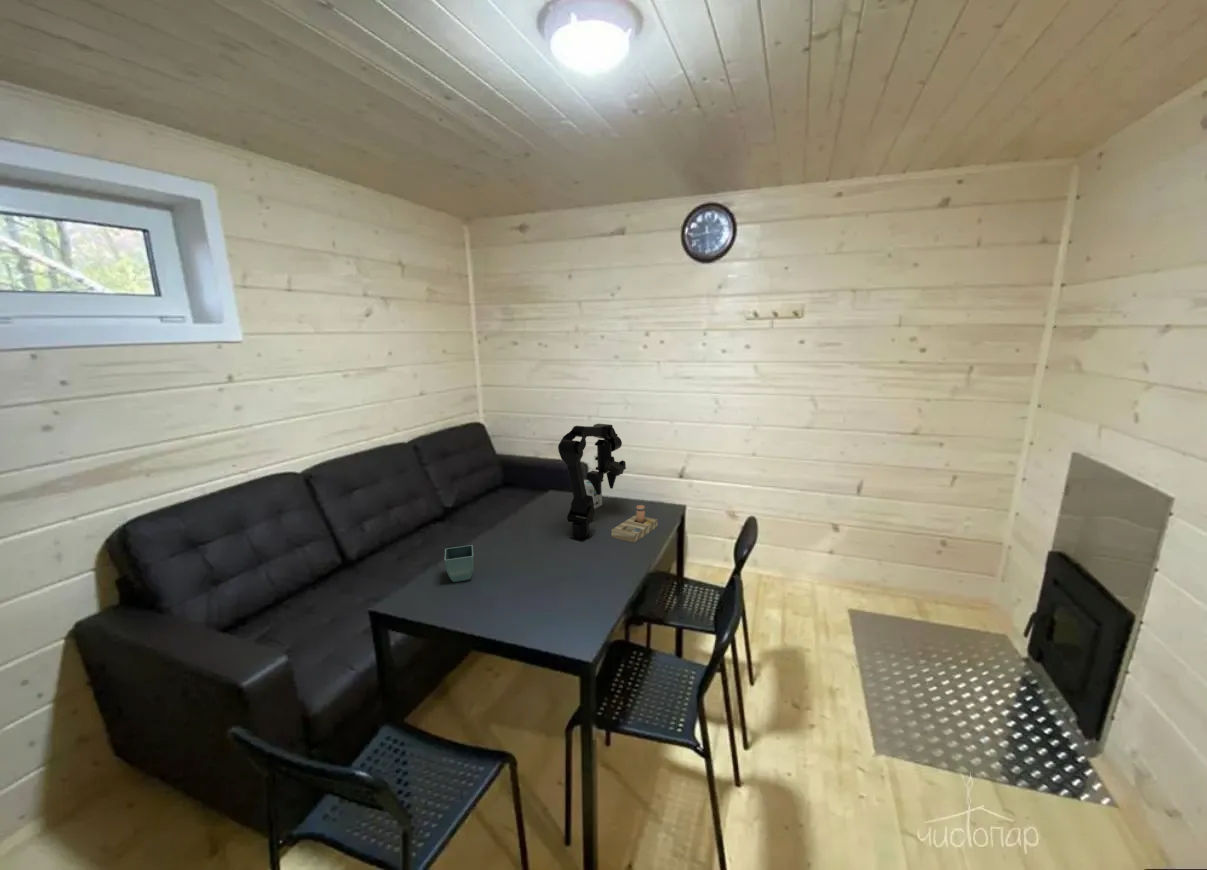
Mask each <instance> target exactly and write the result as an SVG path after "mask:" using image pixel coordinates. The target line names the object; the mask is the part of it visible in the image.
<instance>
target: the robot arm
mask: <svg viewBox="0 0 1207 870" xmlns="http://www.w3.org/2000/svg"><path fill="white" fill-rule="evenodd" d="M577 437H578V438H581V439H580V441H579V440H575V439H576V438H577ZM587 437H593V438H597V441H596V442H595V444H594V446H595V447H597V448H596V449H597V450H596V451H597V454H596V455H597V456H595V457H594V458H595V461H597V466H595V470H594V469H593V470H591V471H588V472H587V473H586V474H585V478H584V475H583V468H582V463H581V460H582V458H583V456H584V450H585V448H586V446H587ZM622 445H623V442H622V440H621V438H620V436H618V433H616V430H615V428H614V426H613V425H612V424H608V423H606V424H605V423H596V424H593V425H592V426H591V425H590V426H588V425H586V426H583V425H574V426H573V427H572V429H571V430H570V431H569V432H567V433H566V434H564V436H563V437H562V438H561V440H560V442H559V444H558V446H557V450H558V453H559V456H560V458H561V460H562V461H563V462H564V463H565V464H566V467H567V472H568V477H569V481H570V486H571V491H572V496H573V498H572V500H571V502H570V508H569V511H568V514H567V516H566V519H567V523H571V527H572V528H571V529H572V535H570V536H569V539H572V540H575V541H580V542H584V541H587V539H589V538H591V537H592V536H593V533H590V524H592V523H593V521H594V516H595V510H596V508H594V502H593V497H592V496H589V495H587V494H586V489H585V484H584V480H588V481H590V482H591V484H592V485H593V487H594V489H595V491H596V493H597V494H598V495H600V493H601V484H602V483H603V482H604V480H605V479H604V476H605V475H606V479H607V483H608V485H609V489H610V490H612V489H614V486H615V482H616V479H617V477H618V476H620V475H623V474H624V471H625V470H626V469H627V466H626V461H625V460H623V459H622V460H620V461H616V460H615V457H614V456H612V453H613V452H614V451H616V450H619V449H621V448H622Z"/></svg>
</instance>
